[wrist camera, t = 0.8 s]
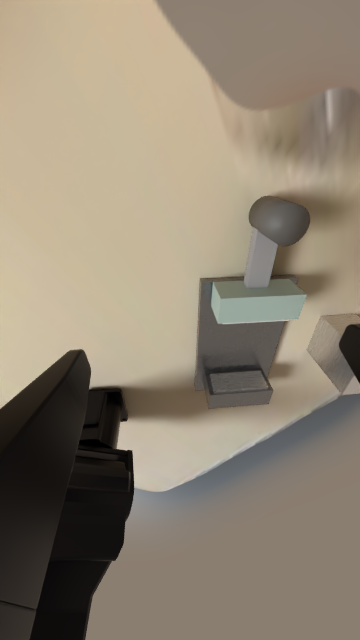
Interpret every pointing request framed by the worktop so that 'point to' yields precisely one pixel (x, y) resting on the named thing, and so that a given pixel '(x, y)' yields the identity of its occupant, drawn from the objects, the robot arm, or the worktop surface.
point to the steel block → (334, 351)
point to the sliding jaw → (264, 268)
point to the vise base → (234, 354)
